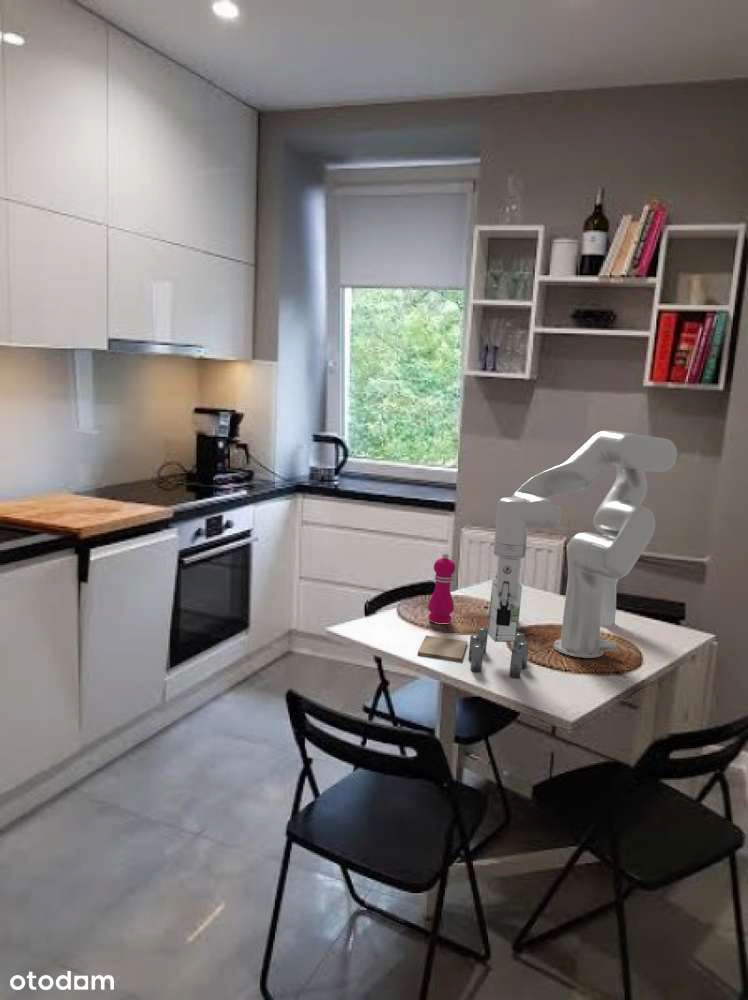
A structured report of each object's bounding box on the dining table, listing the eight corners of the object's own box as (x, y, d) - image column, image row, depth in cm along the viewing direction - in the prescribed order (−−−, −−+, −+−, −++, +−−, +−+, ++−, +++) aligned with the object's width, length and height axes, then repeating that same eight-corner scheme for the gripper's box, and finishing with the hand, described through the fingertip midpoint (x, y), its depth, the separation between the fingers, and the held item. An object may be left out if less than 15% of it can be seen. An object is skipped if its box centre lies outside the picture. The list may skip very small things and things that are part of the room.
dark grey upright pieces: (527, 656, 192) (529, 634, 191) (525, 680, 177) (528, 655, 176) (471, 648, 195) (473, 626, 194) (464, 670, 180) (467, 646, 179)
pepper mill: (443, 627, 210) (450, 557, 206) (422, 621, 214) (427, 552, 211) (457, 621, 215) (463, 553, 212) (435, 615, 220) (441, 548, 216)
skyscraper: (608, 629, 219) (620, 535, 214) (584, 622, 224) (596, 530, 219) (619, 623, 225) (631, 532, 220) (596, 617, 230) (607, 527, 225)
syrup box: (509, 633, 188) (514, 577, 186) (517, 642, 183) (522, 584, 180) (487, 634, 187) (491, 577, 185) (494, 642, 182) (499, 584, 179)
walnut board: (467, 644, 198) (467, 641, 198) (461, 661, 185) (461, 658, 185) (425, 638, 200) (426, 635, 200) (417, 654, 187) (417, 651, 187)
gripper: (524, 559, 172) (517, 633, 175) (526, 543, 189) (520, 610, 192) (491, 556, 174) (485, 629, 177) (496, 540, 190) (490, 607, 193)
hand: (503, 619), depth 184 cm, fingers closed on syrup box, 7 cm apart
